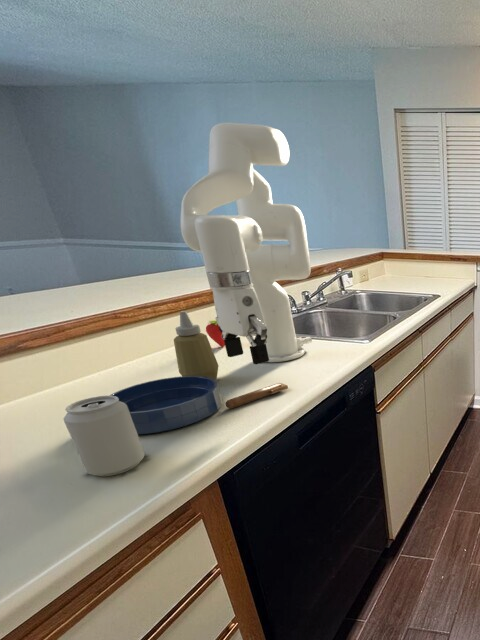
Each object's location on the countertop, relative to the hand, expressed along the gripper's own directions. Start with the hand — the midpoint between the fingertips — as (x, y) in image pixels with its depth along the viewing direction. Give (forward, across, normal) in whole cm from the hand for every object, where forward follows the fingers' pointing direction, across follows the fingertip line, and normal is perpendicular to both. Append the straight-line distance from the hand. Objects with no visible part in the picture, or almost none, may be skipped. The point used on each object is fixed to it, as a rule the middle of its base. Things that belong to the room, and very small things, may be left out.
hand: (248, 359), depth 93 cm
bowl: (+10, +8, +14) cm, 19 cm away
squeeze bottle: (+10, +22, +1) cm, 24 cm away
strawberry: (+9, +48, -18) cm, 53 cm away
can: (+10, -6, +28) cm, 31 cm away
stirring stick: (+10, 0, 0) cm, 10 cm away
